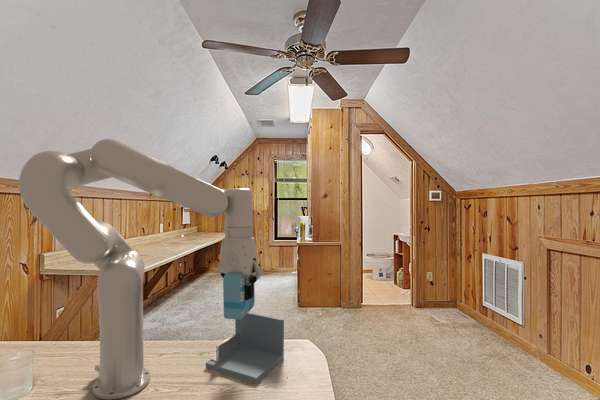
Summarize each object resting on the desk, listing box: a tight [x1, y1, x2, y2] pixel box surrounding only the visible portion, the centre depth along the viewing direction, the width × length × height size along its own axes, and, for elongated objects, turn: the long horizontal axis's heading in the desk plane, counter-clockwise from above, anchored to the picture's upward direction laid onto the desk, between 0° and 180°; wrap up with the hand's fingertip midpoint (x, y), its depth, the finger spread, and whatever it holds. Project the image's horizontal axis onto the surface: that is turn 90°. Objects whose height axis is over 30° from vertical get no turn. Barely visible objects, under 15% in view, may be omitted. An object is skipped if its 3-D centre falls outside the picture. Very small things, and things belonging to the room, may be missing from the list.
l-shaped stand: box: [205, 311, 285, 385], centre depth 94 cm, size 16×14×12 cm
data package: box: [222, 272, 256, 320], centre depth 94 cm, size 12×4×12 cm, turn 168°
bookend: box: [209, 332, 241, 362], centre depth 97 cm, size 3×10×4 cm, turn 154°
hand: (239, 296), depth 94 cm, fingers closed on data package, 5 cm apart
